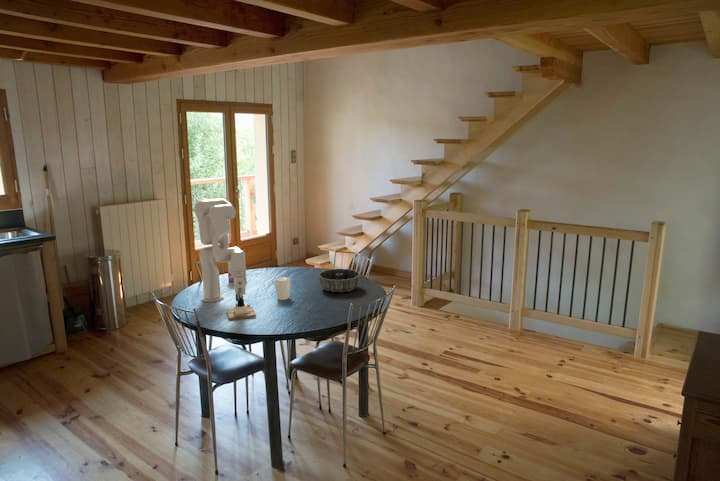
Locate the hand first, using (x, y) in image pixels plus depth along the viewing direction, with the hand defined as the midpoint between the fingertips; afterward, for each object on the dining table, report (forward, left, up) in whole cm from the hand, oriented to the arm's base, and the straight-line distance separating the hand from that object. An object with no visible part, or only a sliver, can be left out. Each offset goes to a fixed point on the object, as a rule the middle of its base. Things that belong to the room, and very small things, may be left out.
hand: (239, 303), depth 269 cm
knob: (+1, 0, -5) cm, 5 cm away
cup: (-20, +27, -6) cm, 35 cm away
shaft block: (+1, 0, -6) cm, 6 cm away
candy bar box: (-66, +5, -6) cm, 67 cm away
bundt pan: (-26, +64, -7) cm, 70 cm away
